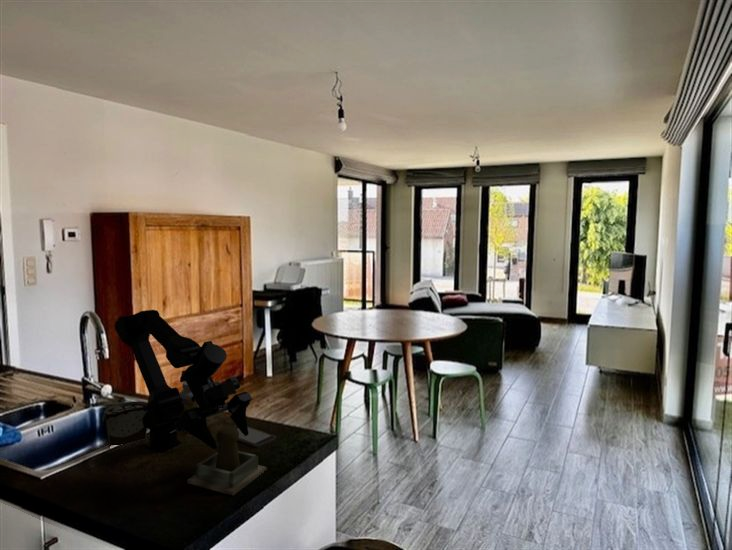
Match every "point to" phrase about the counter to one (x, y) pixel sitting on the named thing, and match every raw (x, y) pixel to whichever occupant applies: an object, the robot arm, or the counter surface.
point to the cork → (227, 449)
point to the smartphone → (255, 437)
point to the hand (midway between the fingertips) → (231, 441)
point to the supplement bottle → (187, 397)
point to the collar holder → (227, 474)
